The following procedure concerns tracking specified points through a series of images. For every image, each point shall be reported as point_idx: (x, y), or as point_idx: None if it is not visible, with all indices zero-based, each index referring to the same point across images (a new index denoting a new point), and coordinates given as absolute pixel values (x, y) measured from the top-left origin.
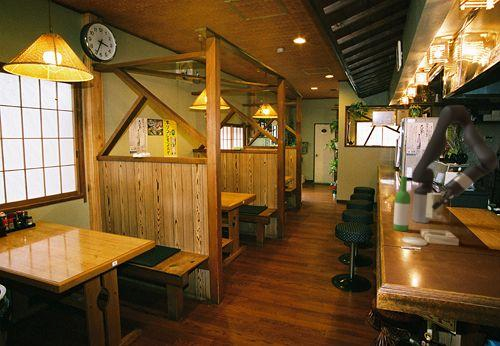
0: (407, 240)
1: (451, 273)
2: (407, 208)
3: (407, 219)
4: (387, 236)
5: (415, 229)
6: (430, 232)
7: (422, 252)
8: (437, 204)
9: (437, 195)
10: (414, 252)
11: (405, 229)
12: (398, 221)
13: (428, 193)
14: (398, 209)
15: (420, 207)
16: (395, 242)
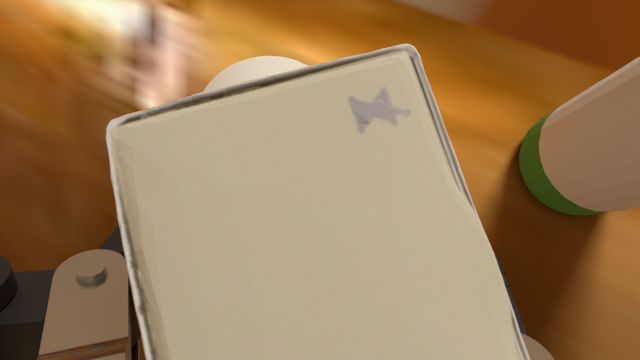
0: (259, 77)
1: None
2: None
3: (582, 169)
4: (380, 15)
5: (596, 287)
6: None
7: (77, 88)
8: (119, 232)
9: (140, 276)
10: (79, 44)
11: (524, 175)
12: (568, 104)
13: (363, 54)
14: None
15: None
16: (259, 14)
